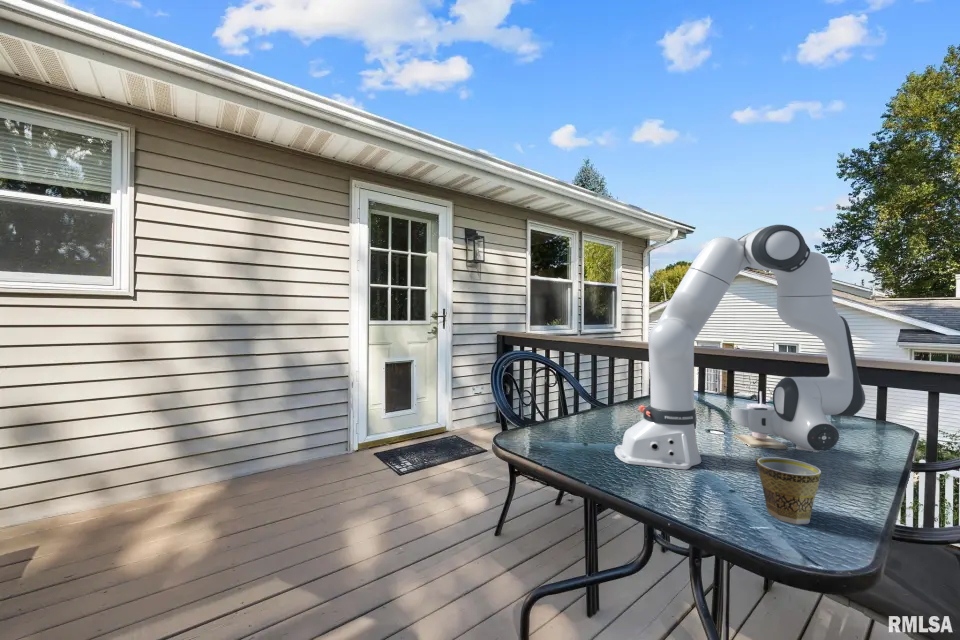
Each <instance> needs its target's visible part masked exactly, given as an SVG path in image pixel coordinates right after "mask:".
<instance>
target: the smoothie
mask: <svg viewBox="0 0 960 640" xmlns="http://www.w3.org/2000/svg"><path fill="white" fill-rule="evenodd" d="M766 407H771V405H769V404H764V403H763V391H761V390H760V391H759V403H755V402H754V403H753V402H751V403H747V404H746V408H766ZM751 435H752V436H754V437H758V438H766V437H767V436H768V434H764V433H757V432H752V431H751Z"/></svg>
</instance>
